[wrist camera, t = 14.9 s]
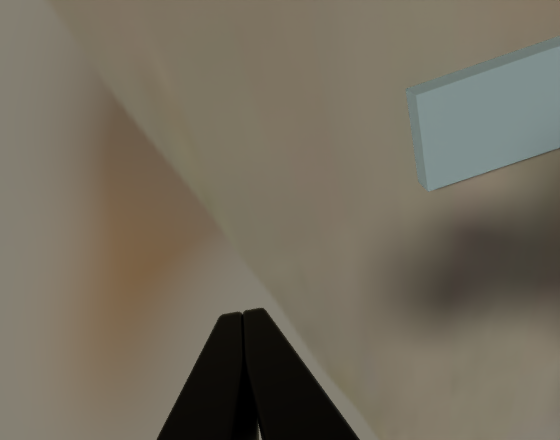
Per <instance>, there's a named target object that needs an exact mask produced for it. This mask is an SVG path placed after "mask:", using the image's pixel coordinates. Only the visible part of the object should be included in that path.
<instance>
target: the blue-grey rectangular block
mask: <svg viewBox="0 0 560 440" xmlns="http://www.w3.org/2000/svg"><path fill="white" fill-rule="evenodd" d="M406 94H407V101H408V109H409V116H410V123H411V131H412V138H413V145H414V153H415V160H416V167H417V174H418V182H419V183H420V184H421V185H422V186H423V187H424V188H425V189H426V190H427V191H428V192H429V191H432V190H435V189H438V188H441V187H444V186H447V185H450V184H453V183H456V182H459V181H462V180H465V179H467V178H470V177H473V176H476V175H479V174H482V173H485V172H488V171H491V170H494V169H497V168H500V167H503V166H506V165H509V164H512V163H515V162H518V161H521V160H524V159H527V158H530V157H533V156H536V155H539V154H542V153H545V152H548V151H551V150H554V149H557V148H560V36H558V37H555V38H552V39H549V40H546V41H543V42H540V43H537V44H534V45H531V46H529V47H526V48H523V49H520V50H517V51H514V52H511V53H508V54H505V55H502V56H500V57H497V58H494V59H491V60H488V61H485V62H482V63H479V64H476V65H473V66H471V67H468V68H465V69H462V70H459V71H456V72H453V73H450V74H447V75H444V76H442V77H439V78H436V79H433V80H430V81H427V82H424V83H421V84H418V85H416V86H413V87H410V88H407V89H406Z"/></svg>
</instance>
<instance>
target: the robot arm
mask: <svg viewBox="0 0 560 440" xmlns="http://www.w3.org/2000/svg"><path fill="white" fill-rule="evenodd" d="M258 424H259V427H258ZM259 429H260V433H261V438H262V440H360V439H359V438H358V437H357V435H356V434H355V433H354V431H353V430H352V428H351V427H350V426H349V424H348V423H347V422H346V420H345V419H344V417H343V416H342V415H341V413H340V412H339V410H338V409H337V408H336V406H335V405H334V404H333V402H332V401H331V400H330V398H329V397H328V395H327V394H326V393H325V391H324V390H323V389H322V387H321V386H320V384H319V383H318V381H317V380H316V379H315V377H314V376H313V375H312V373H311V372H310V370H309V369H308V368H307V366H306V365H305V364H304V362H303V361H302V360H301V358H300V357H299V355H298V354H297V353H296V351H295V350H294V348H293V347H292V346H291V344H290V343H289V342H288V340H287V339H286V337H285V336H284V335H283V333H282V332H281V331H280V329H279V328H278V326H277V325H276V324H275V322H274V321H273V320H272V318H271V317H270V315H269V314H268V313H267V311H266V310H265V309H264V308H257V309H251V310H246V311H244V312H243V315H242V313H241V312H233V313H228V314H223V315H221V316H220V317H219V318H218V320H217V322H216V324H215V326H214V328H213V330H212V332H211V334H210V336H209V338H208V340H207V342H206V344H205V346H204V348H203V350H202V352H201V353H200V355H199V358H198V359H197V361H196V363H195V365H194V367H193V369H192V371H191V373H190V375H189V377H188V379H187V381H186V383H185V385H184V387H183V389H182V391H181V393H180V395H179V397H178V399H177V400H176V403H175V405H174V406H173V408H172V410H171V412H170V414H169V416H168V418H167V420H166V422H165V424H164V426H163V428H162V430H161V432H160V434H159V436H158V438H157V440H259Z"/></svg>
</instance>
